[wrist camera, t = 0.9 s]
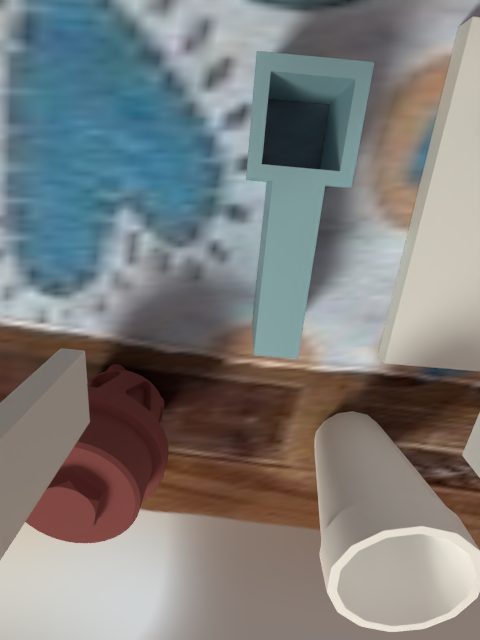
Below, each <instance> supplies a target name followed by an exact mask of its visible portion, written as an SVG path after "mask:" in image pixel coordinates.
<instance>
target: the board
mask: <svg viewBox="0 0 480 640" xmlns="http://www.w3.org/2000/svg"><path fill="white" fill-rule="evenodd" d="M378 356H379V358H380V359H381V360H382V361H383V363H384V364H396V365H408V366H420V367H432V368H445V369H457V370H469V371H480V17H472V18H470V19H469V20H468V21H466V22H465V23H464V24H462V25H461V26H460V27H459V28H458V32H457V36H456V40H455V44H454V48H453V52H452V56H451V60H450V64H449V68H448V72H447V76H446V80H445V84H444V88H443V93H442V97H441V101H440V105H439V109H438V113H437V117H436V121H435V125H434V129H433V133H432V137H431V141H430V145H429V149H428V153H427V157H426V162H425V166H424V170H423V174H422V178H421V182H420V186H419V190H418V194H417V198H416V202H415V206H414V210H413V214H412V218H411V222H410V227H409V231H408V235H407V239H406V243H405V247H404V251H403V255H402V259H401V263H400V267H399V271H398V275H397V279H396V283H395V287H394V292H393V296H392V300H391V304H390V308H389V312H388V316H387V320H386V324H385V328H384V332H383V336H382V340H381V344H380V348H379V352H378Z"/></svg>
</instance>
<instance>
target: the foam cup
mask: <svg viewBox="0 0 480 640" xmlns="http://www.w3.org/2000/svg"><path fill="white" fill-rule="evenodd" d="M314 445H315V462H316V476H317V489H318V503H319V516H320V530H321V541H322V542H321V548H320V560H321V565H322V570H323V575H324V580H325V585H326V590H327V593H328V595H329V597H330V599H331V601H332V602H333V604H334V606H335V608H336V610H337V612H338V613H340V614H341V615H343V616H345V617H346V618H348V619H349V620H351V621H353V622H354V623H356V624H358V625H359V626H363V627H367V628H372V629H377V630H383V631H388V632H396V631H406V630H417V629H425V628H427V627H430V626H432V625H435V624H438V623H440V622H443V621H445V620H448V619H451V618H453V617H455V616H456V615H457V614H459V613H460V612H461V611H462V610H463V609H465V608H466V607H467V606H468V605H469V604H471V603H472V602H473V601H474V600H475V599H476V598H477V597H478V595H479V592H480V550H479V548H478V547H477V545H476V544H475V542H474V541H473V539H472V537H471V536H470V534H469V533H468V531H467V530H466V528H465V527H464V525H463V523H462V522H461V520H460V519H459V517H458V516H457V515H456V514H455V513H453V512H452V511H451V510H450V509H448V508H447V507H446V506H445V505H444V503H443V502H442V501H441V500H440V499H439V497H438V496H437V495H436V494H435V492H434V491H433V490H432V489H431V488H430V486H429V485H428V484H427V483H426V481H425V480H424V479H423V478H422V477H421V475H420V474H419V473H418V472H417V470H416V469H415V468H414V467H413V466H412V464H411V463H410V462H409V461H408V459H407V458H406V457H405V456H404V455H403V453H402V452H401V451H400V450H399V448H398V447H397V446H396V445H395V444H394V442H393V441H392V440H391V439H390V437H389V436H388V435H387V434H386V433H385V431H384V430H383V429H382V428H381V427H380V426H379V425H378V423H377V422H376V421H374V420H373V419H372V418H371V417H369V416H368V415H366V414H362V413H358V412H354V411H351V412H344V413H337V414H335V415H334V416H332V417H330V418H328V419H327V420H325V421H324V422H323V423H322V424H321V426H320V427H319V429H318V430H317V431H316V435H315V443H314Z"/></svg>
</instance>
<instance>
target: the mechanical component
mask: <svg viewBox="0 0 480 640" xmlns="http://www.w3.org/2000/svg"><path fill="white" fill-rule="evenodd" d="M87 387H88V401H89V415H90V423H89V424H88V426H87V427H86V429H85V430H84V432H83V433H82V435H81V437H80V438H79V440H78V441H77V443H76V444H75V446H74V447H73V449H72V450H71V452H70V453H69V455H68V457H67V458H66V460H65V461H64V463H63V464H62V466H61V467H60V469H59V470H58V472H57V473H56V475H55V477H54V478H53V480H52V481H51V483H50V484H49V486H48V487H47V489H46V490H45V492H44V493H43V495H42V497H41V498H40V500H39V501H38V503H37V504H36V506H35V507H34V509H33V510H32V512H31V513H30V515H29V517H28V518H27V520H26V521H25V522H26V523H28V524H29V525H30V526H32V527H33V528H35V529H36V530H38V531H40V532H42V533H44V534H46V535H48V536H51V537H53V538H56V539H59V540H64V541H68V542H74V543H95V542H101V541H105V540H108V539H111V538H114V537H116V536H118V535H120V534H121V533H123V532H124V531H126V530H127V529H128V528H129V527H130V526H131V525H132V524H133V522H134V521H135V519H136V517H137V515H138V512H139V510H140V507H141V504H142V501H144V500H145V499H147V498H148V497H149V496H150V495H151V494H152V493H153V492H154V491H155V490H156V489H157V487H158V486H159V484H160V482H161V480H162V478H163V475H164V471H165V468H166V464H167V460H168V443H167V438H166V435H165V433H164V430H163V428H162V427H161V425H160V421H161V419H162V416H163V408H164V405H165V402H164V399H163V398H162V397H161V396H160V394H159V392H158V390H157V389H156V388H155V386H154V385H153V384H152V383H151V382H150V381H149V380H147V379H146V378H144V377H143V376H141V375H139V374H137V373H134V372H130V371H126V369H125V368H124V367H123V366H121V365H118V364H113V365H111V366H110V367H109V368H108V369H107V371H106V372H103V373H100V374H98V375H97V376H95V377H94V378H93V379H91V380H90V381H89V383H88V384H87Z"/></svg>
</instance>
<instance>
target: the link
mask: <svg viewBox="0 0 480 640" xmlns="http://www.w3.org/2000/svg"><path fill="white" fill-rule="evenodd" d="M373 68H374V62H369V61H359V60H348V59H337V58H327V57H316V56H306V55H295V54H285V53H274V52H263V51H257V55H256V67H255V79H254V91H253V103H252V115H251V127H250V139H249V151H248V163H247V175H246V180H251V181H262V182H267V185H266V195H265V205H264V215H263V224H262V234H261V244H260V254H259V263H258V273H257V283H256V292H255V302H254V312H253V322H252V326H253V348H254V355H259V356H271V357H283V358H295V359H298V355H299V349H300V343H301V336H302V330H303V324H304V317H305V311H306V305H307V298H308V292H309V286H310V279H311V273H312V267H313V260H314V254H315V248H316V241H317V235H318V229H319V222H320V216H321V210H322V203H323V197H324V191H325V187H333V188H352V183H353V177H354V172H355V166H356V161H357V155H358V150H359V144H360V139H361V133H362V128H363V123H364V117H365V112H366V106H367V101H368V95H369V90H370V84H371V79H372V73H373ZM268 99H279V100H290V101H301V102H311V103H322V104H330V108H329V114H328V121H327V128H326V134H325V141H324V147H323V154H322V161H321V167H320V169H309V168H298V167H287V166H276V165H265V164H262V157H263V147H264V136H265V126H266V116H267V105H268Z"/></svg>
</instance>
